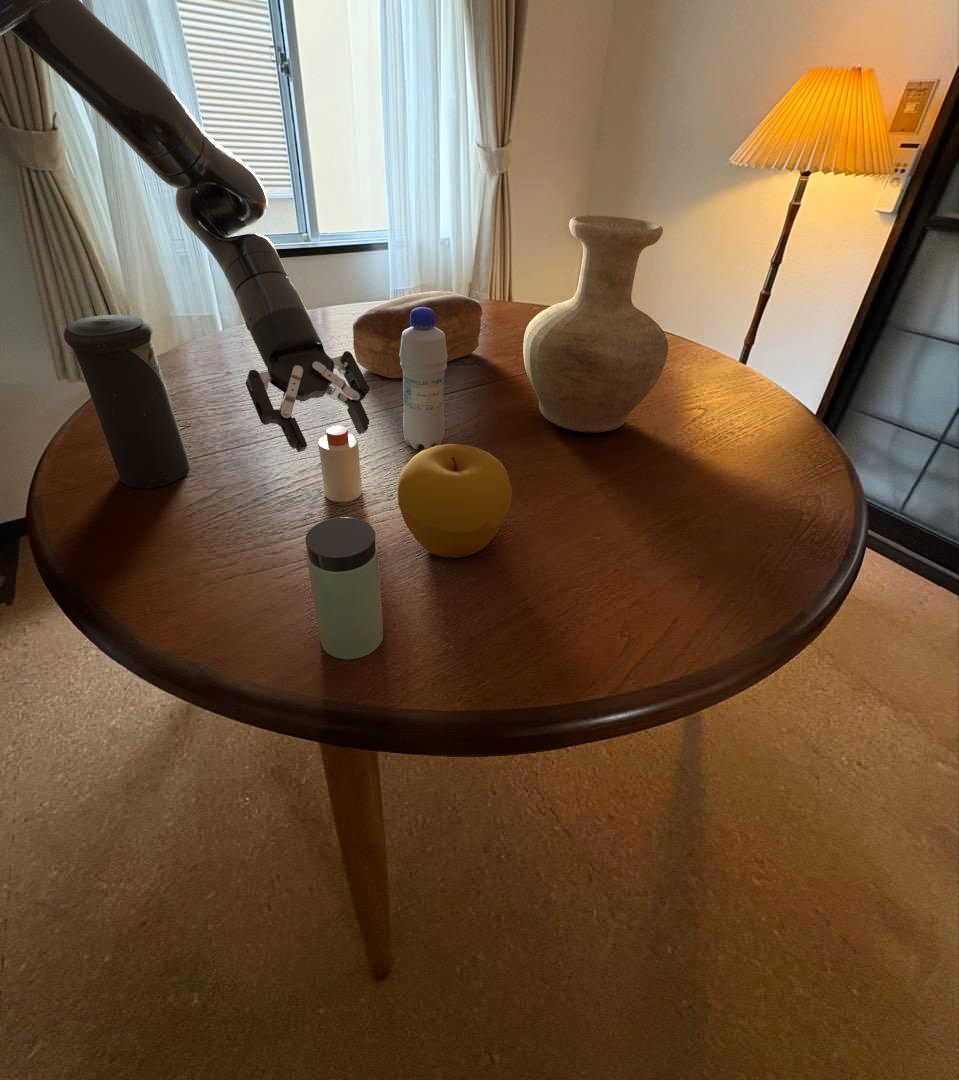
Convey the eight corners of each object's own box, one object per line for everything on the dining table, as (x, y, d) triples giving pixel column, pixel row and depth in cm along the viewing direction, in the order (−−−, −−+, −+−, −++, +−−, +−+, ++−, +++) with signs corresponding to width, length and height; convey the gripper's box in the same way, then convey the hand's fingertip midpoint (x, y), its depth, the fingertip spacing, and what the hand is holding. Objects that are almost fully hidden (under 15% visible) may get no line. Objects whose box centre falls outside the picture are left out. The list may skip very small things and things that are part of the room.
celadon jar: (321, 664, 51) (304, 562, 44) (319, 618, 56) (302, 519, 48) (387, 653, 52) (381, 553, 45) (379, 609, 57) (372, 512, 50)
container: (206, 469, 77) (164, 318, 65) (144, 498, 70) (85, 337, 58) (166, 451, 80) (120, 304, 68) (104, 477, 74) (41, 320, 62)
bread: (489, 353, 121) (493, 293, 114) (396, 388, 103) (393, 319, 96) (441, 338, 128) (442, 280, 120) (345, 368, 109) (339, 302, 102)
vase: (517, 447, 87) (540, 229, 69) (514, 391, 105) (532, 206, 87) (661, 456, 87) (722, 241, 69) (633, 399, 105) (676, 216, 87)
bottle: (406, 455, 83) (402, 315, 71) (399, 435, 88) (394, 301, 76) (450, 452, 85) (453, 314, 73) (440, 432, 90) (442, 300, 78)
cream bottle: (325, 504, 72) (317, 440, 66) (324, 484, 75) (316, 423, 70) (363, 500, 73) (358, 437, 67) (360, 481, 77) (355, 420, 71)
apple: (386, 521, 69) (381, 437, 62) (481, 502, 74) (486, 423, 67) (420, 586, 60) (419, 497, 53) (526, 560, 65) (538, 475, 58)
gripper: (225, 313, 63) (287, 444, 63) (338, 297, 71) (393, 414, 71) (218, 347, 69) (274, 466, 69) (322, 329, 77) (373, 436, 77)
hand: (334, 440), depth 70 cm, fingers open, 8 cm apart
